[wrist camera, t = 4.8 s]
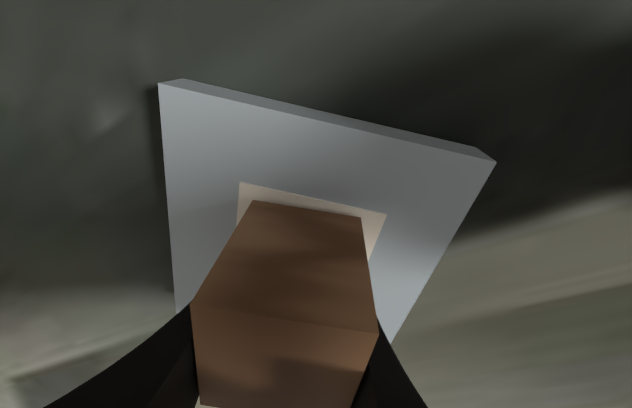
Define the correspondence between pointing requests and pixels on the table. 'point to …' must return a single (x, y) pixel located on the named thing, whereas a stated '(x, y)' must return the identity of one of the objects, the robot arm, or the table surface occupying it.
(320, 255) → the walnut block
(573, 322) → the table surface
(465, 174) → the base board
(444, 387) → the table surface
